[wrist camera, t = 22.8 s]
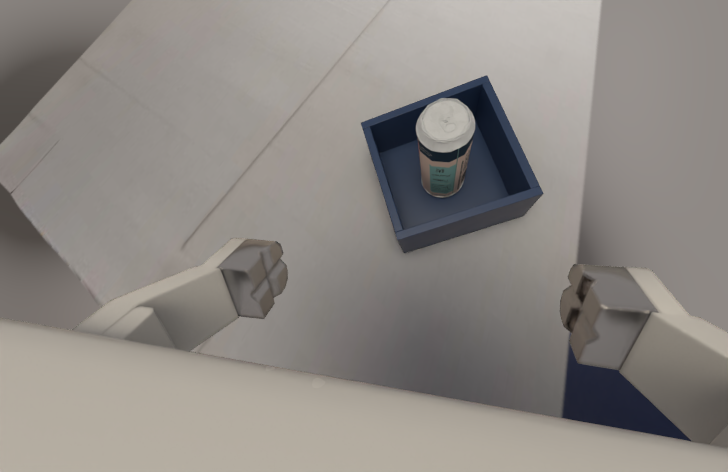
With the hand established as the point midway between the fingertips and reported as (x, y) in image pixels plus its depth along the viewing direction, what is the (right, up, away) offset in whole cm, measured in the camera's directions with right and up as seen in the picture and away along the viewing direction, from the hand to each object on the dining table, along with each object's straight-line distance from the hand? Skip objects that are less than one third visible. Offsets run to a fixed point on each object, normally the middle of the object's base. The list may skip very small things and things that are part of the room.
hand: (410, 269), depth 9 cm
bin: (+8, +7, +28) cm, 30 cm away
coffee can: (+8, +7, +28) cm, 30 cm away
